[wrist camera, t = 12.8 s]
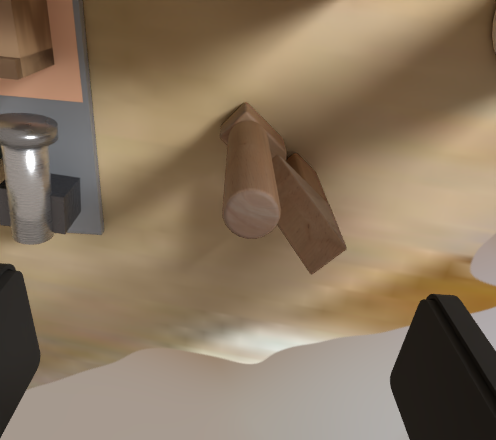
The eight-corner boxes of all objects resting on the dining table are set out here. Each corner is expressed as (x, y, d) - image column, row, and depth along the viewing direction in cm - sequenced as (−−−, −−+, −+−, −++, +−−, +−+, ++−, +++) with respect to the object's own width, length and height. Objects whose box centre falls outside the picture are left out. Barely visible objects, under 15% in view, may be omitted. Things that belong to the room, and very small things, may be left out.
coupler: (54, 64, 36) (18, 80, 30) (12, 59, 36) (-33, 74, 30) (39, -59, 31) (-7, -69, 26) (-9, -64, 31) (-67, -76, 25)
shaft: (17, 100, 39) (-33, 125, 31) (82, 111, 39) (47, 138, 32) (27, 202, 44) (-14, 244, 37) (84, 211, 45) (54, 253, 38)
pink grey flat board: (43, -406, 24) (35, -422, 23) (104, 230, 46) (101, 235, 45) (-117, -432, 23) (-132, -450, 22) (21, 224, 45) (17, 229, 44)
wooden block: (292, 195, 44) (320, 310, 28) (219, 125, 40) (206, 215, 25) (318, 173, 43) (362, 280, 27) (246, 99, 39) (250, 175, 23)
